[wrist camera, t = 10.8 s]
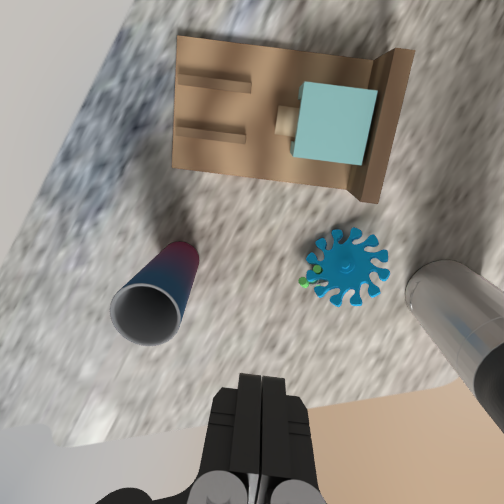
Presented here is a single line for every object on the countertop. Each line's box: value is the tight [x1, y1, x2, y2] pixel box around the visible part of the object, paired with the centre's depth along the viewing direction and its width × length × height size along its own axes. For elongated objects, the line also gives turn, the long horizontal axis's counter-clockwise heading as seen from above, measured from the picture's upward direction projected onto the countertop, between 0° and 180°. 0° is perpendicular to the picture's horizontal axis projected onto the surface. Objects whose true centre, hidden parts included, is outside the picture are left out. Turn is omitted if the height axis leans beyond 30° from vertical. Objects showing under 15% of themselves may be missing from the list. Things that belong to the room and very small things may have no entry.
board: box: [172, 35, 415, 204], centre depth 38 cm, size 23×14×8 cm, turn 83°
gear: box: [299, 227, 390, 307], centre depth 46 cm, size 11×6×10 cm
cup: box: [110, 241, 199, 346], centre depth 41 cm, size 7×7×15 cm
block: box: [290, 82, 378, 165], centre depth 38 cm, size 7×7×6 cm
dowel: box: [275, 105, 300, 137], centre depth 40 cm, size 8×3×3 cm, turn 82°
